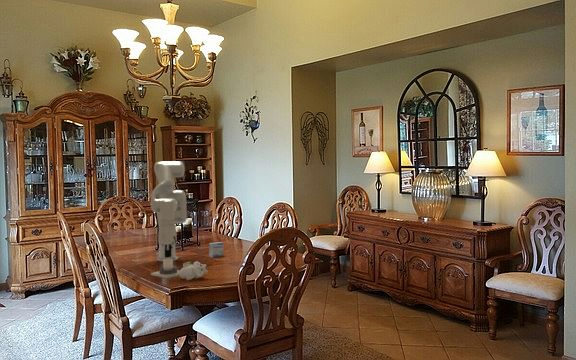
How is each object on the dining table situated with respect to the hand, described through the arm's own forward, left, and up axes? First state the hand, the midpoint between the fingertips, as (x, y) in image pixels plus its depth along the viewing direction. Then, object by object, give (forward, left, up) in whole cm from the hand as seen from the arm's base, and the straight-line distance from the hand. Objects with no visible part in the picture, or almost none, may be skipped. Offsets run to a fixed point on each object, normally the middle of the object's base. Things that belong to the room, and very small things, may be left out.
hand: (168, 256), depth 274 cm
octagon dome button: (0, 0, -10) cm, 10 cm away
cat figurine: (+18, +1, -10) cm, 20 cm away
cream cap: (0, 0, -9) cm, 9 cm away
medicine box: (-11, +49, -10) cm, 51 cm away
